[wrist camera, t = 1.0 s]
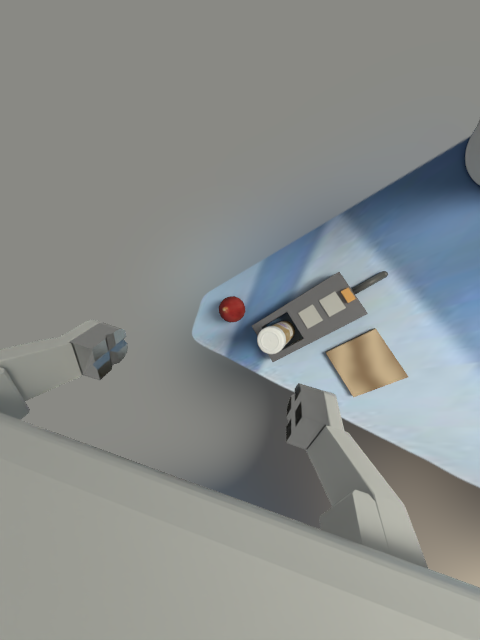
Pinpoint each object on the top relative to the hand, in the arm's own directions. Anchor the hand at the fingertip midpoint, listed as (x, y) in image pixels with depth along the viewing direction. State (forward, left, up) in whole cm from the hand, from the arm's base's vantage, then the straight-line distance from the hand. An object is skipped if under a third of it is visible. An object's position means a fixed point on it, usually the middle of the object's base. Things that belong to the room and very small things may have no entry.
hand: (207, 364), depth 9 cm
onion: (+11, -9, -37) cm, 40 cm away
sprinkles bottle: (+4, +1, -37) cm, 38 cm away
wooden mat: (-6, +14, -37) cm, 40 cm away
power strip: (-4, +1, -37) cm, 37 cm away
